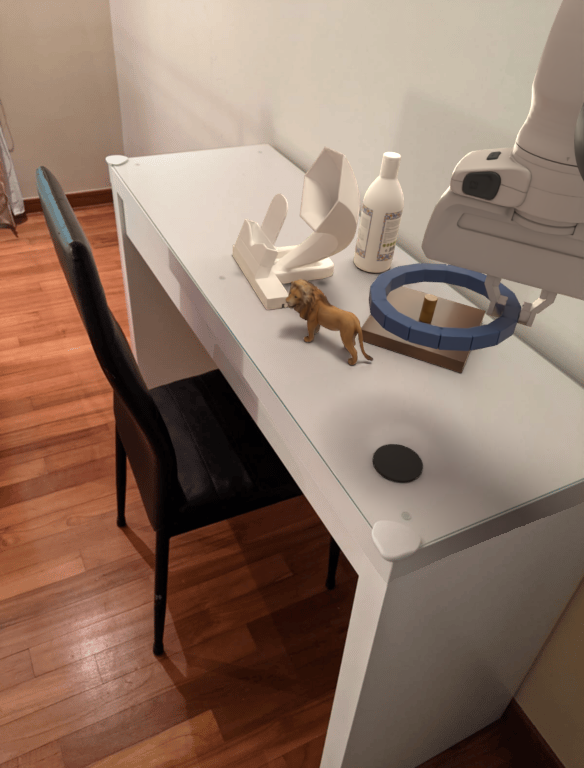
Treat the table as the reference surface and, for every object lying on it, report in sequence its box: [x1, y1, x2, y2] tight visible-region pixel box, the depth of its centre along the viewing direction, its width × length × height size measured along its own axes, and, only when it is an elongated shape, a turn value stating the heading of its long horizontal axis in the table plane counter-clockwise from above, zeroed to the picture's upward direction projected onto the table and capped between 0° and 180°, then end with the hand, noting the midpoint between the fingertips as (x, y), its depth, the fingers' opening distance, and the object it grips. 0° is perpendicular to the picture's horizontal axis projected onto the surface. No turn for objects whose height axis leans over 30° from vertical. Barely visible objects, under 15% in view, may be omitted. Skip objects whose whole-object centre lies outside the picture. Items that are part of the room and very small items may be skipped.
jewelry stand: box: [231, 146, 361, 311], centre depth 96 cm, size 25×16×25 cm, turn 21°
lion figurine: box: [285, 279, 374, 366], centre depth 88 cm, size 15×5×9 cm, turn 60°
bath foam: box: [353, 151, 405, 274], centre depth 105 cm, size 7×7×20 cm
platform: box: [357, 285, 487, 374], centre depth 94 cm, size 16×16×6 cm
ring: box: [368, 262, 522, 352], centre depth 64 cm, size 15×15×2 cm
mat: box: [372, 443, 424, 484], centre depth 73 cm, size 6×6×1 cm
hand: (509, 318), depth 61 cm, fingers closed on ring, 2 cm apart
